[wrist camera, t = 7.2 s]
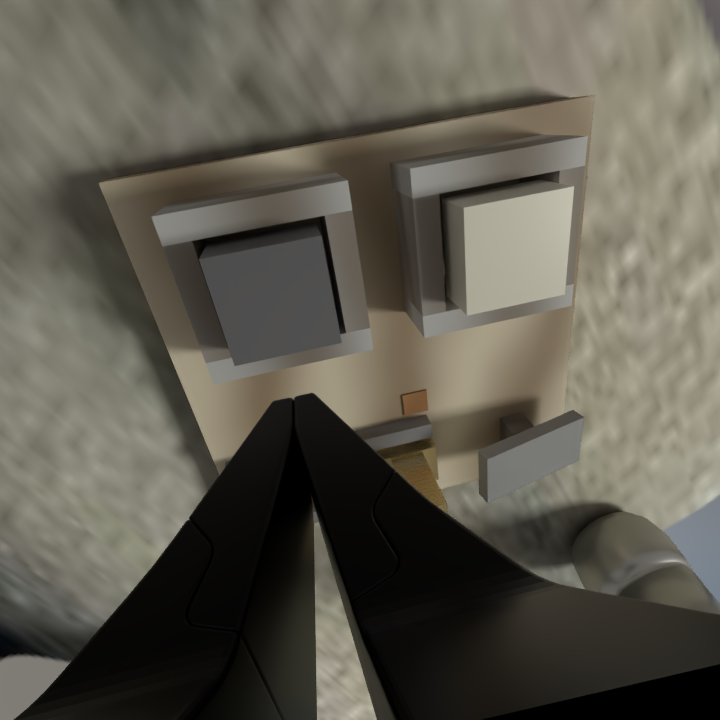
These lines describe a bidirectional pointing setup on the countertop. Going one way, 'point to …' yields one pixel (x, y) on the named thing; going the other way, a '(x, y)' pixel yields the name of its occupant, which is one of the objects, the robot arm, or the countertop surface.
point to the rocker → (529, 455)
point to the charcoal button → (272, 293)
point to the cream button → (507, 245)
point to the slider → (417, 467)
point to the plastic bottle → (638, 563)
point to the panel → (368, 281)
